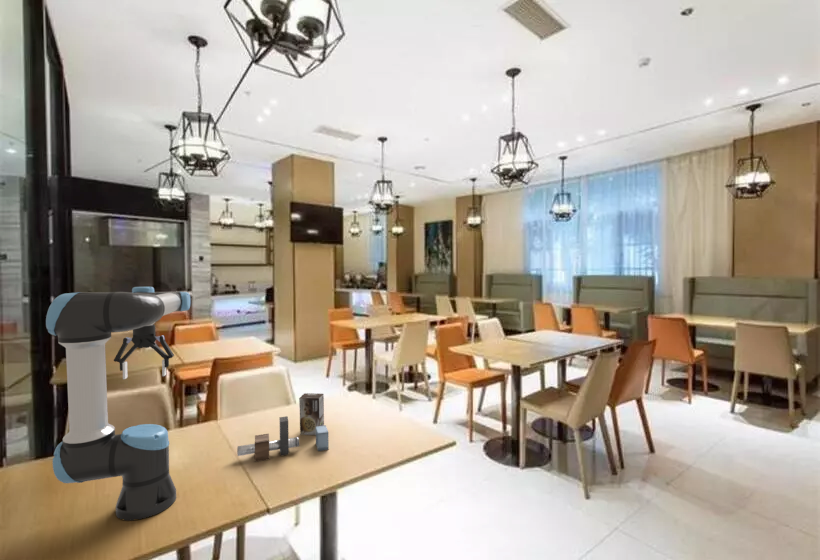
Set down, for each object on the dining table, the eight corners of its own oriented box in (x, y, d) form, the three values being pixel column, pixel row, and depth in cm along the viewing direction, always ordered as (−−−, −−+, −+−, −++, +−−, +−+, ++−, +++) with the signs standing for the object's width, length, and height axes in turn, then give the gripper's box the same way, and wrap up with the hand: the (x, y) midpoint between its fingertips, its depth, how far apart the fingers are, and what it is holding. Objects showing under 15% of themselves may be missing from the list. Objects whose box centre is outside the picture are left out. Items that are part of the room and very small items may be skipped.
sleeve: (269, 459, 145) (269, 440, 145) (254, 461, 143) (254, 443, 143) (269, 451, 151) (268, 433, 151) (255, 453, 150) (255, 435, 149)
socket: (328, 449, 153) (328, 431, 153) (318, 451, 151) (318, 433, 151) (325, 442, 159) (325, 425, 159) (315, 443, 158) (315, 426, 158)
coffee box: (324, 429, 172) (324, 393, 172) (319, 435, 166) (319, 398, 165) (304, 428, 173) (304, 392, 173) (299, 434, 167) (298, 397, 166)
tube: (237, 462, 142) (236, 427, 142) (238, 456, 147) (237, 422, 146) (299, 452, 150) (299, 419, 149) (298, 447, 154) (297, 414, 154)
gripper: (181, 322, 164) (182, 371, 165) (111, 325, 156) (112, 377, 157) (176, 324, 157) (177, 376, 157) (103, 327, 149) (104, 382, 149)
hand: (145, 377), depth 157 cm, fingers open, 13 cm apart
